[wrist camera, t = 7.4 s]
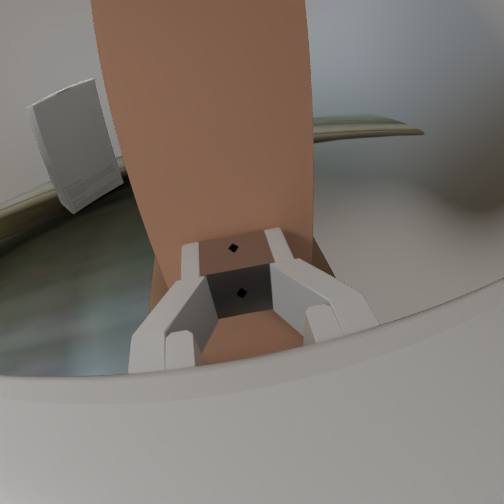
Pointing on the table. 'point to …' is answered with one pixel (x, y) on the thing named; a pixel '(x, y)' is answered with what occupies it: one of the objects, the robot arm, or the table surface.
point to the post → (214, 133)
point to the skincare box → (75, 144)
